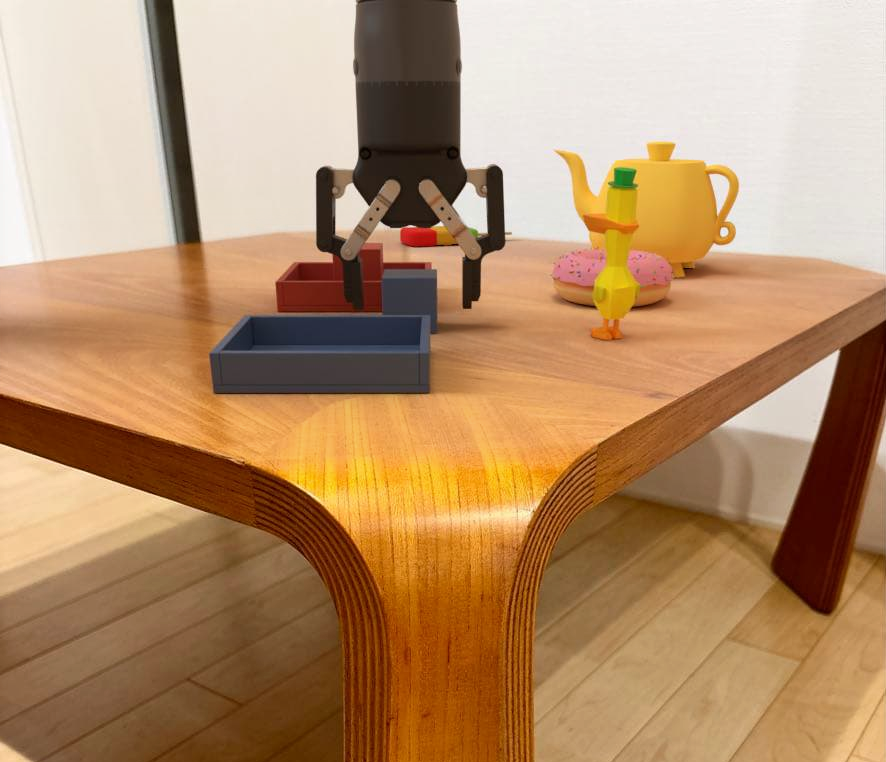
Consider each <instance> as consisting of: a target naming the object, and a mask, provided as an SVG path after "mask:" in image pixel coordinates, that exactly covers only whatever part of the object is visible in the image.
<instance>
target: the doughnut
mask: <svg viewBox="0 0 886 762" xmlns="http://www.w3.org/2000/svg"><path fill="white" fill-rule="evenodd" d="M598 248H599V247H597V249H596V248H595V249H593V247H590V249H588V248H585V249H582V250H577V249H576V250H573V251H571V252H568V253H566V254H563V255H562V256H560V257H558V258H559V259H558V260H557V261H556V262H553V263H552V264H553V265H554V266H553V269H552V272H551V274H550V275H549V276H550V277H551V279H553V283H552V284H553V288H554V291H555V292H556V293H557V295H559V296H560V297H561V298H562V299H564V300H566V301H568V302H571V303H574V304H577V305H578V304H579V305H584V306H591V307H596V305H595V303H594V301H593V298H591V297H592V293H593V291H594V283H595V279H596V278H597V276H598V275H599V274H600V273H601V271H602V270H603V269H604V267H605V266H606V249H600V248H599V249H598ZM667 260H668V258H667V259H666V260H665V259H664V258H663V257H661V256H659V255H657V254H656V253H655V254H654V253H649V251H648V252H643V251H635V250H630V252H629V257H628V262H627V267H628V269H629V271H630V272H631V274H632V276H633V278H634V279H635V281H636V282H637V283H639V284H640V285H641V286H640V291H639V296H638V297H637V298H635V302H634V305H633V306H632V307H633V308H634V307H643V306H647V305H651V304H655V303H657V302H659V301H661V300H662V299H664V298H665V297H666V296H667V295H668V293H669V292H670V290H671V288H672V282H673V280H674V278H675V277H674V276H675V275H673V273H674V272H673V270H672V268H671V267H672V266H670V263H669V262H668V261H667ZM632 307H631V308H632Z"/></svg>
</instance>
